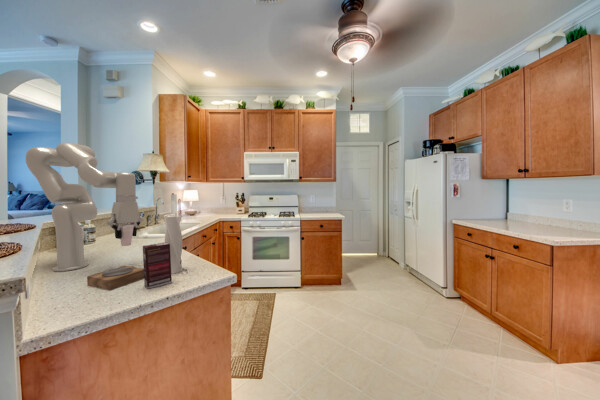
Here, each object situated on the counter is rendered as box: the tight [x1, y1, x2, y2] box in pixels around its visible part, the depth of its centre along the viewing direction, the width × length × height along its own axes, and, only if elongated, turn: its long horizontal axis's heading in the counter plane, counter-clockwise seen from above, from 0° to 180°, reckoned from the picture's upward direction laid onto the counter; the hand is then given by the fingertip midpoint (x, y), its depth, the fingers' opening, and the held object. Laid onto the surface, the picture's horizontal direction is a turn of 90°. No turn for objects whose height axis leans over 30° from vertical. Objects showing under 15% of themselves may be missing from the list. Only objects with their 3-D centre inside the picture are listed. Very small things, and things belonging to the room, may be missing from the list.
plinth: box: [86, 265, 144, 291], centre depth 98 cm, size 14×14×4 cm
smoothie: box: [119, 223, 134, 247], centre depth 113 cm, size 6×6×14 cm
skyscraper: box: [163, 210, 188, 275], centre depth 109 cm, size 8×8×28 cm
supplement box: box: [142, 241, 173, 290], centre depth 93 cm, size 9×5×16 cm, turn 134°
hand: (126, 236), depth 113 cm, fingers closed on smoothie, 6 cm apart
